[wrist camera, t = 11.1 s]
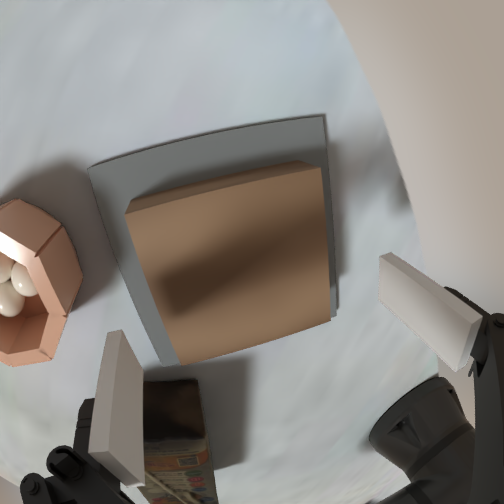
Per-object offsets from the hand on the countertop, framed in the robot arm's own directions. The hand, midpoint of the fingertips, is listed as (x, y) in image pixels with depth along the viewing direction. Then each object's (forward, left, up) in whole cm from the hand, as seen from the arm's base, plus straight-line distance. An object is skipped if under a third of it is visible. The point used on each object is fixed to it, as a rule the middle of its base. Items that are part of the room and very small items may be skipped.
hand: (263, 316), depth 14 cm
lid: (+1, 0, -6) cm, 6 cm away
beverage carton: (-18, +11, -7) cm, 22 cm away
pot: (+4, +14, -7) cm, 16 cm away
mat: (+1, 0, -7) cm, 7 cm away
